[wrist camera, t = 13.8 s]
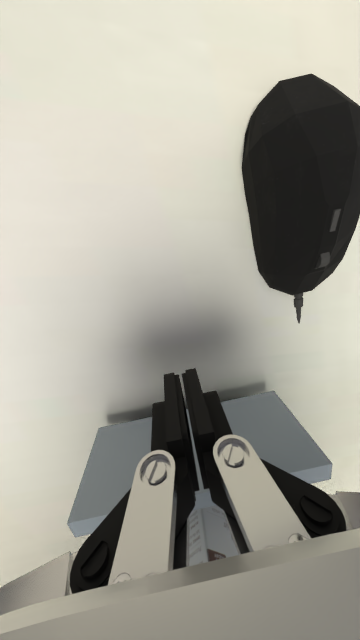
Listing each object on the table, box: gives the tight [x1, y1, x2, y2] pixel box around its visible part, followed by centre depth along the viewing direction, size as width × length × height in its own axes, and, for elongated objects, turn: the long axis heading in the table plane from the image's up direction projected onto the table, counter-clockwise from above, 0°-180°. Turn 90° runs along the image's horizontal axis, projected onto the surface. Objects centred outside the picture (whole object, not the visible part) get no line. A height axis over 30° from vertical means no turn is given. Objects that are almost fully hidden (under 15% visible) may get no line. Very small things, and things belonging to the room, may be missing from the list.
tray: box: [67, 391, 332, 537], centre depth 17 cm, size 18×14×6 cm
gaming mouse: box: [242, 74, 360, 323], centre depth 13 cm, size 6×15×4 cm, turn 13°
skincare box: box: [189, 505, 239, 566], centre depth 13 cm, size 6×4×12 cm
